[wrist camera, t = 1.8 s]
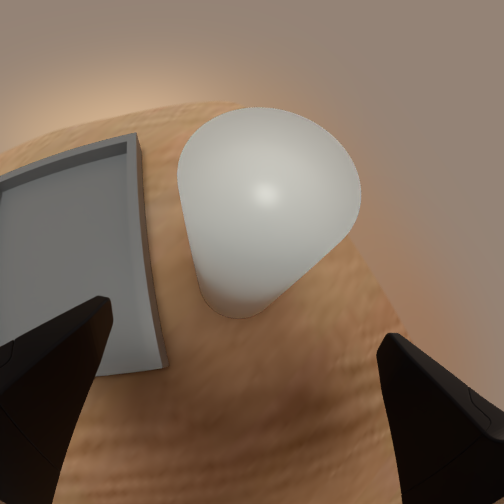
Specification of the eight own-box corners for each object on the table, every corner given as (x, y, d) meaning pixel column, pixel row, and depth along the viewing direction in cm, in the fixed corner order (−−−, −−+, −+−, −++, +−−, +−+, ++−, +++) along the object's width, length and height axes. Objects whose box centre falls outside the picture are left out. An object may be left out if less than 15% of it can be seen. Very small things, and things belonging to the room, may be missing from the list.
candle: (285, 308, 20) (386, 241, 8) (207, 326, 19) (193, 282, 7) (266, 236, 22) (323, 106, 10) (192, 250, 21) (170, 117, 8)
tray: (169, 365, 18) (162, 368, 15) (1, 378, 15) (-17, 378, 12) (141, 150, 23) (136, 132, 21) (3, 192, 20) (-9, 179, 18)
